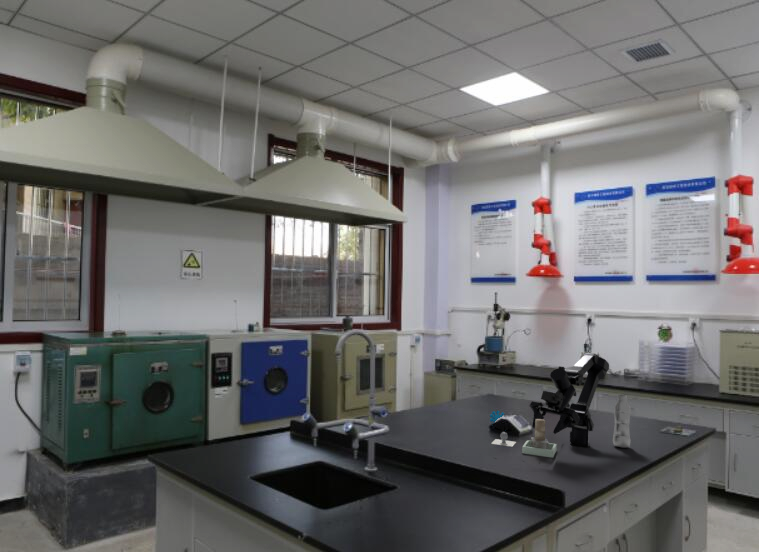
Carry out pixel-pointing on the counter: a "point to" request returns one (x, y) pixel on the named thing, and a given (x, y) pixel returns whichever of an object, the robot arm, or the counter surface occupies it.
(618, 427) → the plastic bottle
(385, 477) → the counter surface
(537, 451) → the tray
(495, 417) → the blue lobed toy
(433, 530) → the counter surface
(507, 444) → the stud plate
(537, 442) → the stamp
